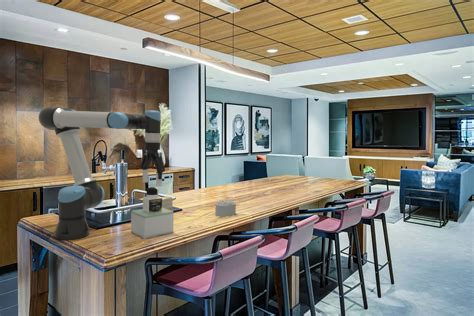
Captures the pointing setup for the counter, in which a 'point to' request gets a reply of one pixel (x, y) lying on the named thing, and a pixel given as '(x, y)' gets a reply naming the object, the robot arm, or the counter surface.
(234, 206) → the lumpy-topped squat cylinder
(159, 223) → the storage box
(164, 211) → the lid
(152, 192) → the medicine bottle
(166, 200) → the supplement box
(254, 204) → the counter surface
